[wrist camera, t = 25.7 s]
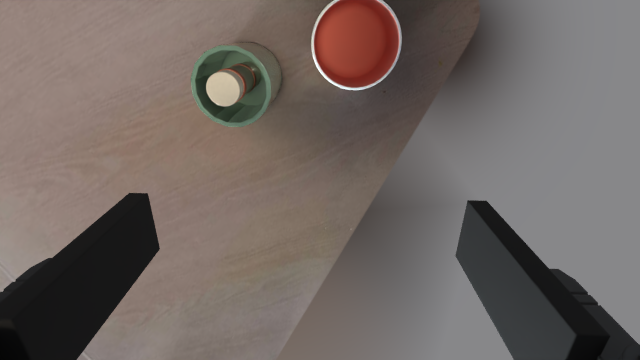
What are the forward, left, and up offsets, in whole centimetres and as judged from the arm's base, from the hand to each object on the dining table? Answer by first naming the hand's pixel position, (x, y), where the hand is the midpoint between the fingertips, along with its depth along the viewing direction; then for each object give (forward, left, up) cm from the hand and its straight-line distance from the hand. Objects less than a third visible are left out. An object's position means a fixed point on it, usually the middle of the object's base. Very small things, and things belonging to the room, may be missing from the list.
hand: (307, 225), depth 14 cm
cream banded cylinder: (+10, -2, -38) cm, 39 cm away
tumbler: (+10, -1, -38) cm, 39 cm away
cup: (-4, -6, -38) cm, 39 cm away
